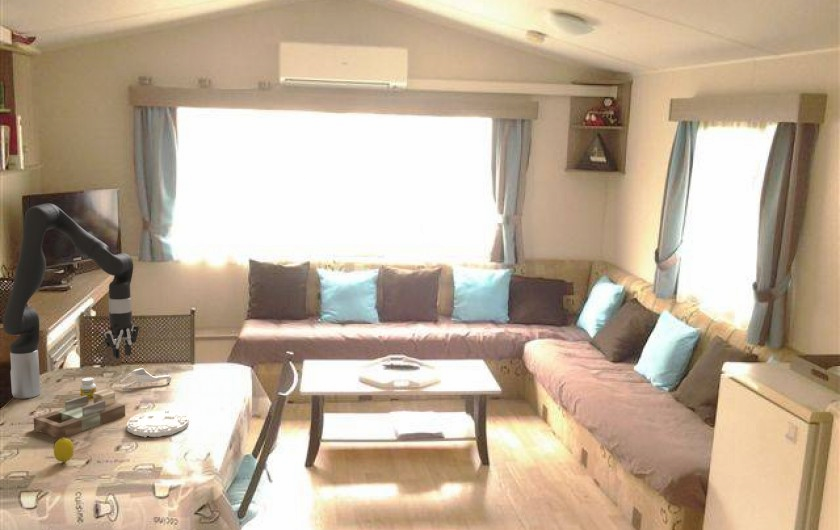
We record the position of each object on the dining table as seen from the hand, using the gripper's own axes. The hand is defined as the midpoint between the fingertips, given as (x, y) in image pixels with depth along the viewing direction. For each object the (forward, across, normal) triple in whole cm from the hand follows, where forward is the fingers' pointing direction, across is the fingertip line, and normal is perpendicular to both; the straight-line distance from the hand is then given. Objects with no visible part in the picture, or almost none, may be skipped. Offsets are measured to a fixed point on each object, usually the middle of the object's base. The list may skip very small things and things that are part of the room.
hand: (122, 356), depth 268 cm
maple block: (+15, +8, 0) cm, 17 cm away
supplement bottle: (+19, +5, -13) cm, 24 cm away
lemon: (+19, +40, +24) cm, 51 cm away
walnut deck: (+19, +18, 0) cm, 26 cm away
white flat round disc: (+20, +5, +24) cm, 32 cm away
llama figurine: (+20, -20, -13) cm, 31 cm away
